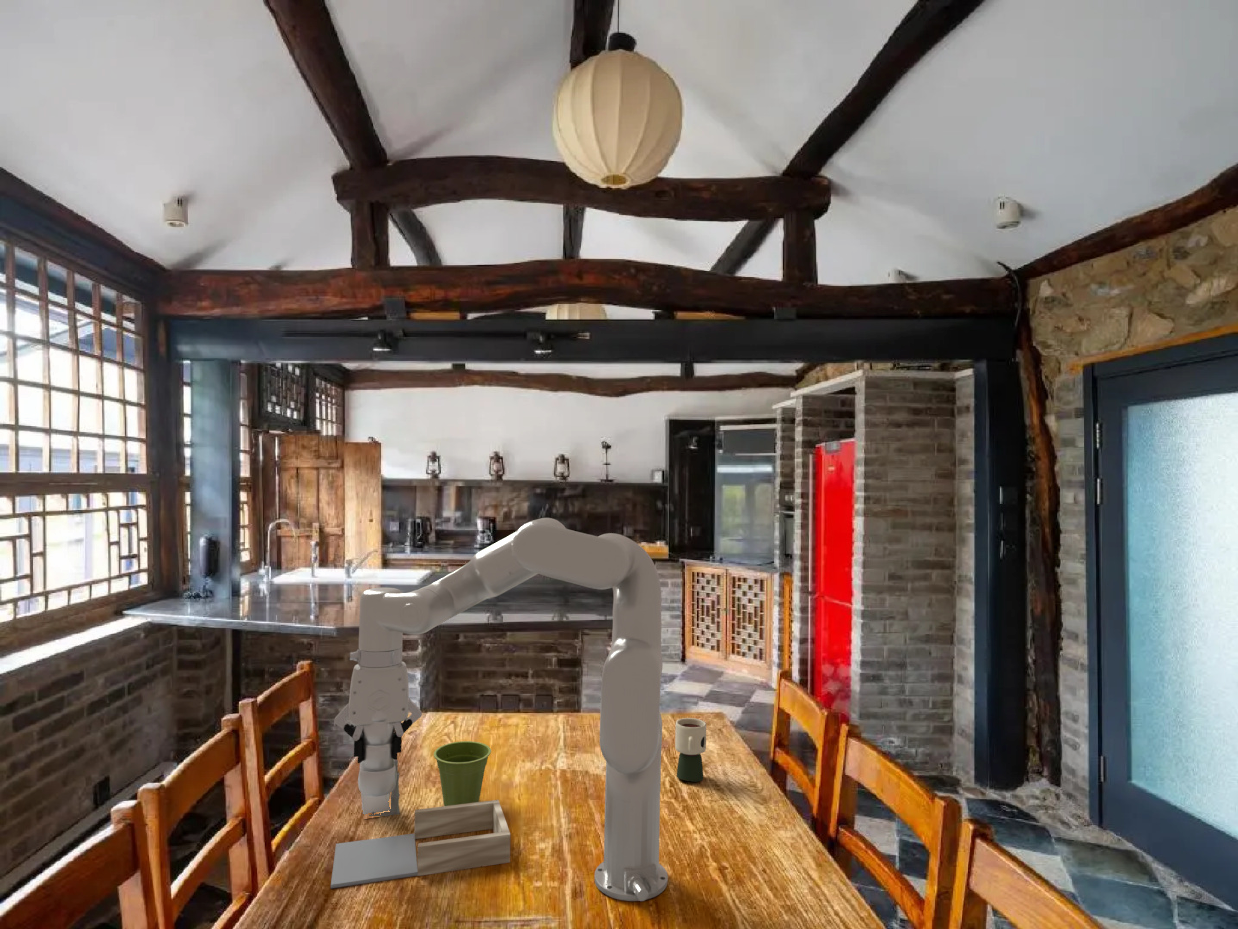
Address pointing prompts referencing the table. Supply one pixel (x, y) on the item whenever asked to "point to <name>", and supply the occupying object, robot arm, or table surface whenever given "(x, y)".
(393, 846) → the tile
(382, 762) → the plastic bottle
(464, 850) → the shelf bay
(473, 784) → the plant pot
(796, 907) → the table surface
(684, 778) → the character mug
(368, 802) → the skyscraper
